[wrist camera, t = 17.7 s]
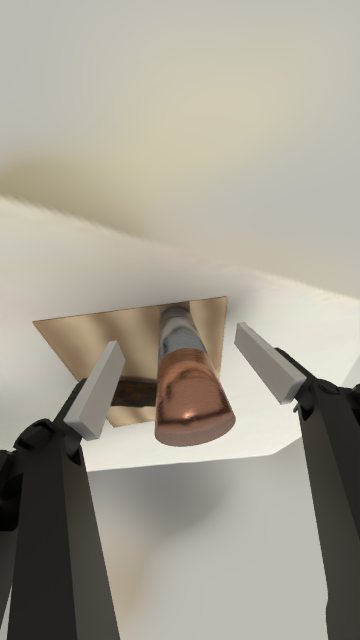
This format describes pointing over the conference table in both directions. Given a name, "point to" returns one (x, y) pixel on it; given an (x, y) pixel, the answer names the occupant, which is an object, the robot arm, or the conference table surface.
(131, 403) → the hand tool
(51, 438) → the robot arm
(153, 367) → the plywood sheet
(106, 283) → the conference table surface
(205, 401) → the copper and grey cylinder
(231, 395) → the conference table surface
